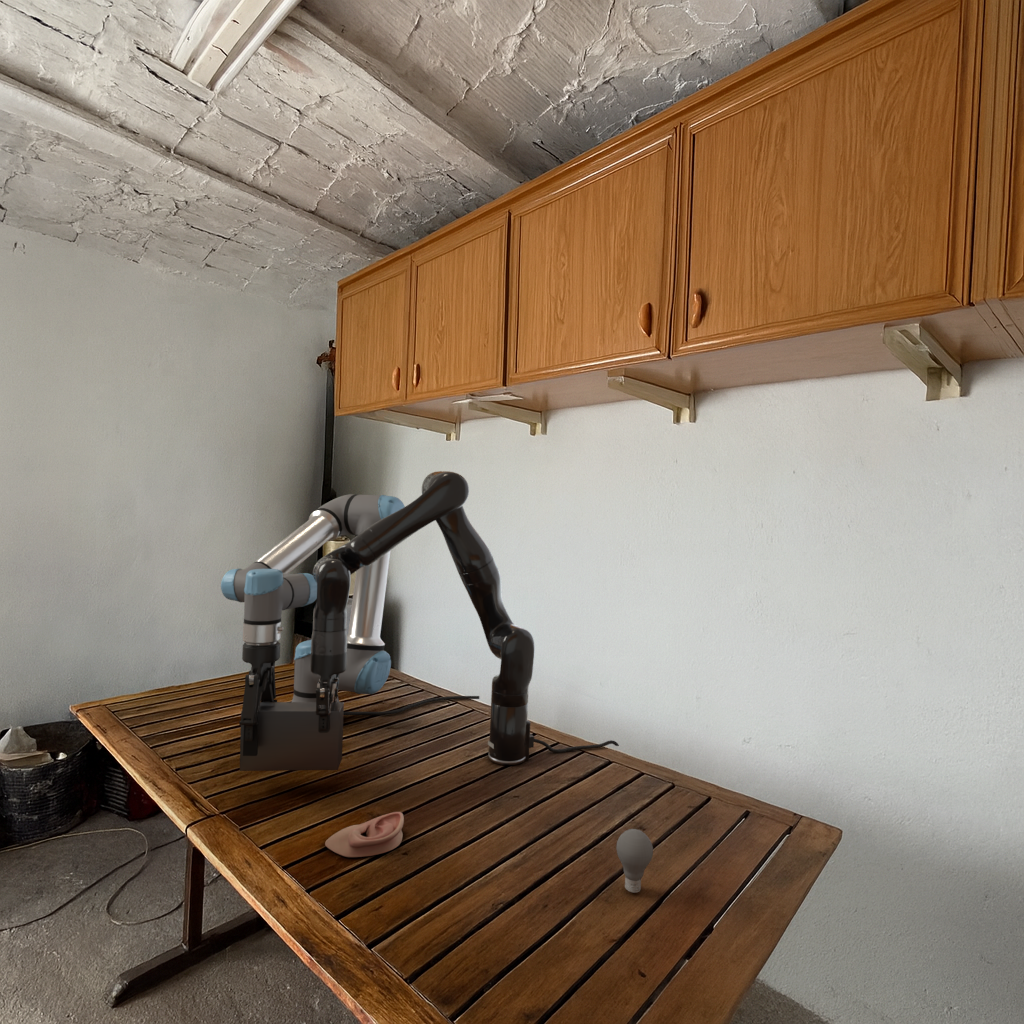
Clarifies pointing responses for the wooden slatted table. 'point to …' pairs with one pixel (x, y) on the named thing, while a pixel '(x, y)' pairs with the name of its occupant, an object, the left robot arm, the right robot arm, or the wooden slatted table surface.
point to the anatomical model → (368, 837)
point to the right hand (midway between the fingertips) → (326, 726)
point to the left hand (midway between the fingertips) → (258, 744)
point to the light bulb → (634, 857)
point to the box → (295, 738)
